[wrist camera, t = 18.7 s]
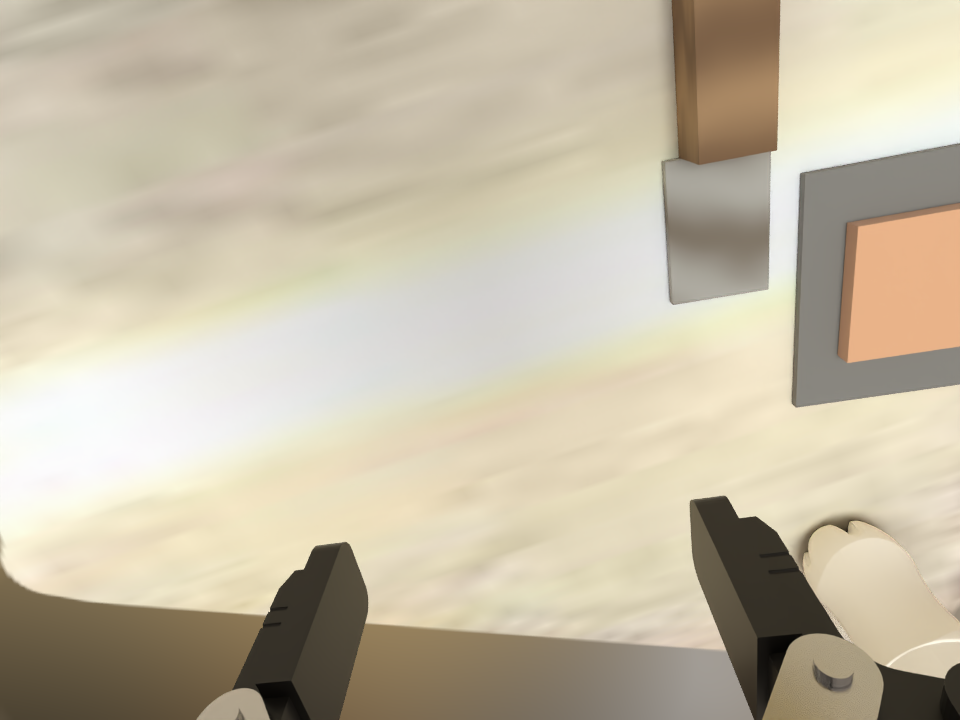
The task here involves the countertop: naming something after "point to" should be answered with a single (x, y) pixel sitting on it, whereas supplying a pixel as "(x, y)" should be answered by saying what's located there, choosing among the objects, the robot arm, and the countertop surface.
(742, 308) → the countertop surface
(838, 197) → the slate mat
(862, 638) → the water bottle
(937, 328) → the tile
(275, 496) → the countertop surface
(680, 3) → the board
